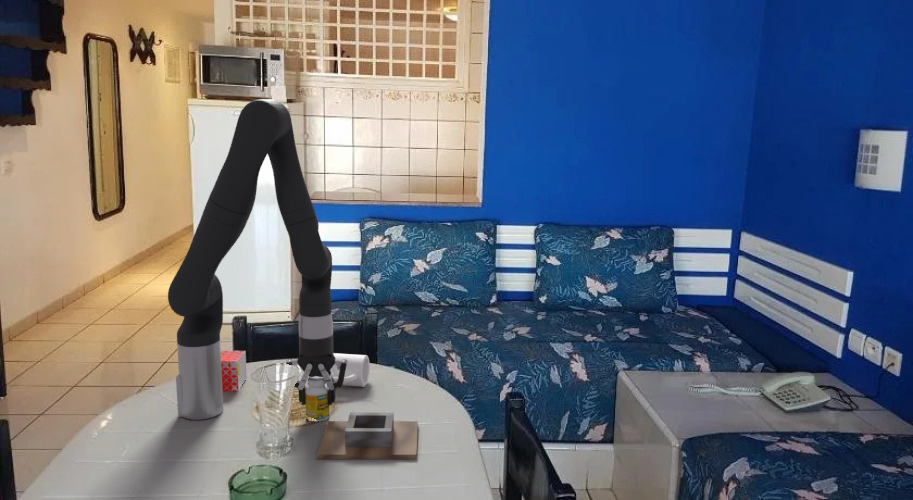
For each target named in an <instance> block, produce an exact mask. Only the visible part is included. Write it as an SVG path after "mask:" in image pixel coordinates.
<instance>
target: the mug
mask: <svg viewBox="0 0 913 500" xmlns="http://www.w3.org/2000/svg"><path fill="white" fill-rule="evenodd" d="M333 354H334V357H335V358H336V359H338V360H343V359H346V360H347V366H346V371H345V376H344V381H343V384H342V386H346V387H347V386H349V387H359V388H362V387H363V388H364V387H366V386H367V384H368V381H369V377H370V368H371V365H370V359H369V356H368V355H367V354H352V353H350V354H349V353H340V352H339V353H337V352H336V353H335V352H333ZM330 370H331V372H332V375H333V378H334V380H335V381H337V380H338V376H339V371H340V370H338V369H337V365H335V364H334V365H333V367H332V368H331V369H330ZM325 385H327V383H326V384H325Z"/></svg>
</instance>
